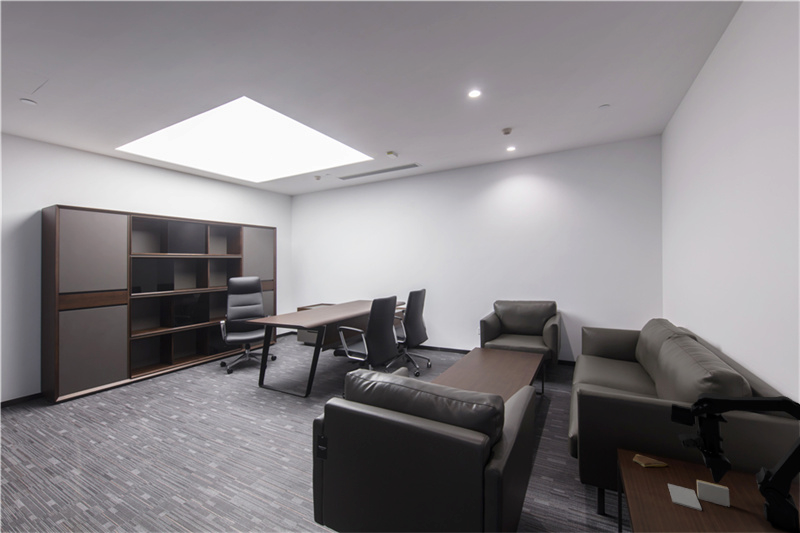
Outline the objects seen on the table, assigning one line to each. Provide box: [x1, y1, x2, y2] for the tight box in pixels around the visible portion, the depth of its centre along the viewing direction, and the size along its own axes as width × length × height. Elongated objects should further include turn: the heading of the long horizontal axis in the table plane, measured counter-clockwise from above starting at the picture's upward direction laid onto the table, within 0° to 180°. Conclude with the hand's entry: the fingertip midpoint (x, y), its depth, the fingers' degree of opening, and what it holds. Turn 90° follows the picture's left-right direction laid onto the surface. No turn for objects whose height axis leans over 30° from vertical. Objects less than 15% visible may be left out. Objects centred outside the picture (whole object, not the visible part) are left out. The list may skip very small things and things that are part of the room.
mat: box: [667, 483, 703, 512], centre depth 114 cm, size 8×11×1 cm
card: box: [696, 479, 731, 508], centre depth 112 cm, size 8×2×6 cm, turn 57°
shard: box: [632, 454, 669, 468], centre depth 134 cm, size 11×8×2 cm
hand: (712, 475), depth 112 cm, fingers open, 9 cm apart
